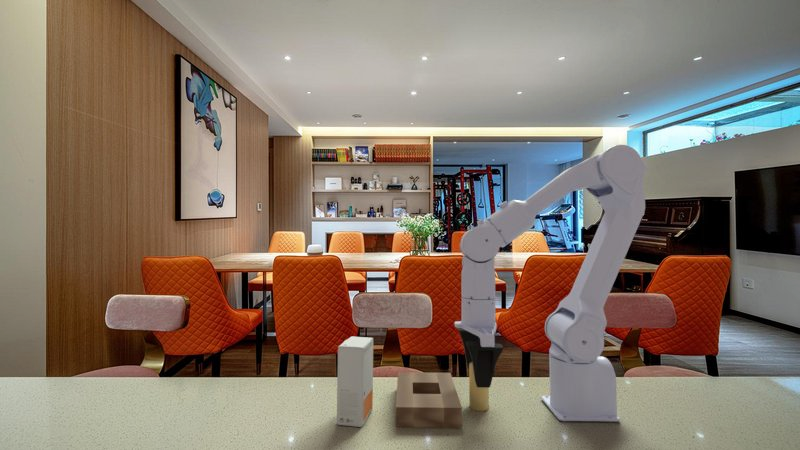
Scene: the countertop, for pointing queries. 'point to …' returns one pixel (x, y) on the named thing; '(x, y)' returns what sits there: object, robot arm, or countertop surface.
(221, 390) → the countertop surface
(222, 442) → the countertop surface
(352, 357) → the skincare box
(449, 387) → the socket block
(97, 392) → the countertop surface
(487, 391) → the peg
